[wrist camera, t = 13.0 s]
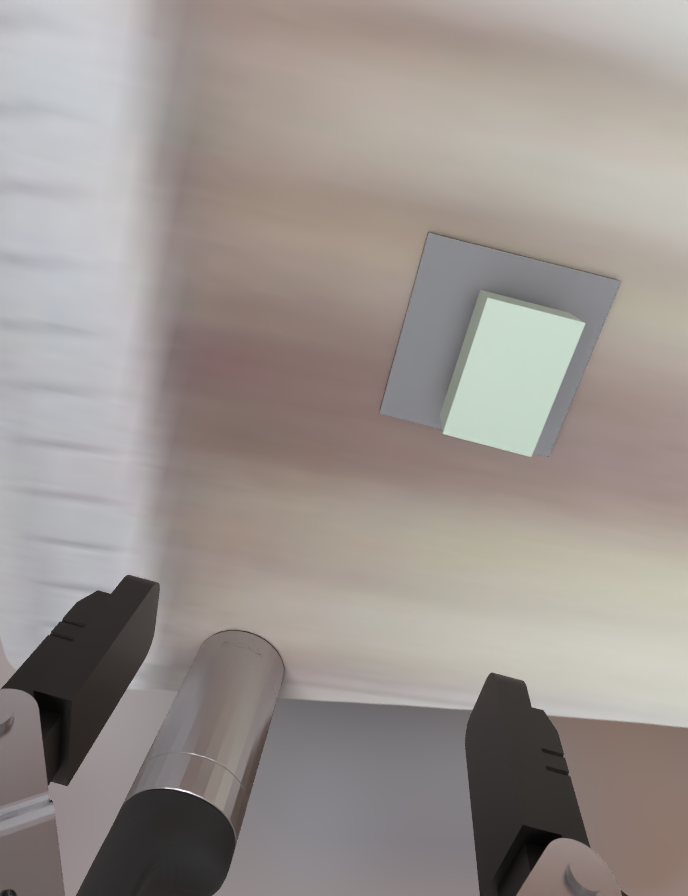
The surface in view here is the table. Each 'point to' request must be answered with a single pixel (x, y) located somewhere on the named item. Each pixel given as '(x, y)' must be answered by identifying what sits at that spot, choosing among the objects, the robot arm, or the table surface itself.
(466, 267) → the mat
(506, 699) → the robot arm
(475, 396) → the mint green toy brick
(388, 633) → the table surface
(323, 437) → the table surface
